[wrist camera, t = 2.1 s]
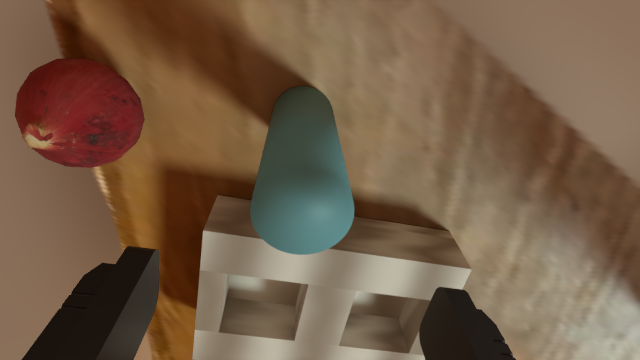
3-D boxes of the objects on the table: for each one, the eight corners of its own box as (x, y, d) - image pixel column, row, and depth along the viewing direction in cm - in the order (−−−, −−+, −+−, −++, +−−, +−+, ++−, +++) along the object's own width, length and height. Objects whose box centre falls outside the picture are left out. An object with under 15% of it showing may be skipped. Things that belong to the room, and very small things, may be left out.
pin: (339, 92, 25) (366, 175, 14) (326, 148, 26) (341, 260, 16) (277, 80, 24) (257, 157, 14) (268, 138, 26) (244, 247, 15)
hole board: (449, 231, 30) (471, 269, 26) (403, 337, 35) (416, 382, 31) (217, 195, 28) (203, 230, 24) (205, 313, 33) (192, 359, 29)
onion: (171, 72, 24) (114, 110, 17) (149, 151, 26) (92, 214, 19) (72, 32, 22) (-35, 54, 15) (59, 119, 25) (-39, 173, 18)
